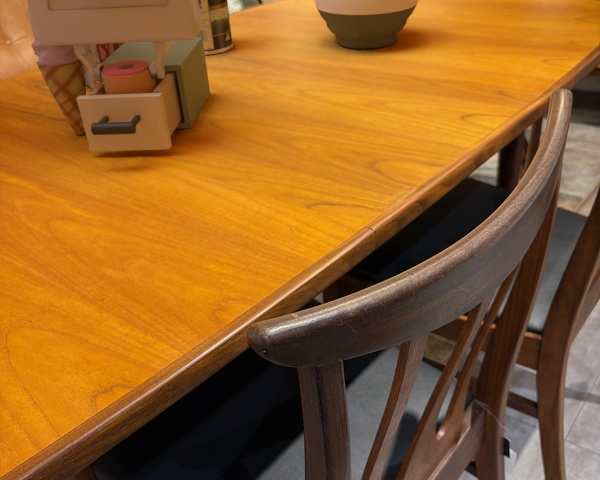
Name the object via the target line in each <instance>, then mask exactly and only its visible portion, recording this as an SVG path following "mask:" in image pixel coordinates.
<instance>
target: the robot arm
mask: <svg viewBox="0 0 600 480" xmlns="http://www.w3.org/2000/svg"><path fill="white" fill-rule="evenodd" d="M26 4H27V10H28V16H29V21H30V26H31V30H32V34H33V37H34V40H35V39H36V40H37V41H38V42H39V43H40V44H41V45H43V46H63V45H73V48H74V51H75V55H76V56H77V57H78V58H79V59H80V60H81V62H82V63H83V64H84V65H85V66H86V67H87V68H88V70H89V74H90V78H91V80H92V81H103V80H102V76H101V71H102V70H103V68H104V63H103V64H97V62H96V61H95V59H94V58H93V57H92V55H91V54H90V53H89V50H90V49H91V44H108V43H131V42H153V47H154V50H155V51H158V50H159V53H158V56H157V59H156V61H152V62H151V64H149V65H148V67H149V71H150V72H151V74H150V77H151V79H163V78H164V77H165V69H164V63H163V61H164V59H165V57H166V54H167V51H168V48H169V41H176V40H192V39H194V38H195V37H196V36H197V35H198V33H199V32H200V30H201V28H202V18H201V12H200V7H199V3H198V0H26Z"/></svg>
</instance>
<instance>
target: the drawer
mask: <svg viewBox="0 0 600 480" xmlns="http://www.w3.org/2000/svg"><path fill="white" fill-rule="evenodd" d="M155 82H156V89H155V90H154V91H153V92H154V93H140V94H112V95H106V92H105V88H104V84H103V81H102V82H101V83H100V84H99V85H98V86H97V87H95V88H94V89H92V90H91V91H90V92H89V93H88V94H86V95H83V96H79V97H78V98H77V103H78V107H79V110H80V114H81V118H82V121H83V125H84V129H85V132H86V133H85V136H86V139H87V143H88V147H89V151H90V152H119V151H120V152H122V151H125V152H126V151H156V150H157V151H158V150H159V151H160V150H162V151H163V150H171V148H172V147H173V144H172V136H173V133H174V132H175V130H176V127H177V125H178V124H179V122H180V120H181V119H182V117H183V109H182V103H181V97H180V91H179V85H178V80H177V74H176V71H168V72H165V77H164V78H163V79H155Z"/></svg>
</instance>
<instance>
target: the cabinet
mask: <svg viewBox="0 0 600 480" xmlns="http://www.w3.org/2000/svg"><path fill="white" fill-rule="evenodd" d="M158 53H159V50H158V51H155V50H154V47H153V42H131V43H124V44H123V45H121V46H120V47H119V48H118V49H117V50H116V51H115V52H114V53H112V54H111V55H110V56H109V57H108V58H107V59H106V60H105V61H103V62H102V63H101V64H103V63H104V67H105V66H107V65H110V64H112V63H116V62H121V61H128V60H142V61H146V62H148V63H149V64H151V62H152V61H156V59H157V56H158ZM163 63H164V69H165V72H168V71H176V74H177V80H178V85H179V91H180V97H181V103H182V109H183V117H182V119H181V120H180V122H179V124H178V125H177V127H176V129H192V127H193V126H194V124H195V122H196V121H197V118H198V117H199V115H200V113H201V112H202V110H203V108H204V106H205V104H206V102H207V101H208V99H209V97H210V95H211V89H210V84H209V83H210V82H209V75H208V74H209V73H208V67H207V61H206V55H205V53H204V46H203V39H202V37H195V38H194V39H192V40H176V41H169V48H168V51H167V54H166V57H165V59H164V61H163ZM101 82H102V81H99V84H100V83H101ZM176 129H175V130H176Z"/></svg>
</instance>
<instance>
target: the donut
mask: <svg viewBox="0 0 600 480" xmlns="http://www.w3.org/2000/svg"><path fill="white" fill-rule="evenodd" d="M148 65H149V63H148V62H146V61H142V60H128V61H121V62H116V63H112V64H110V65H107V66H105V67H104V68H103V70H102V71H101V76H102V80H103V84H104V88H105V92H106V95H112V94H140V93H154V92H153V91H154V90H155V89H156V82H155V79H151V77H150V74H151V72H150V71H149V67H148Z"/></svg>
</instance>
